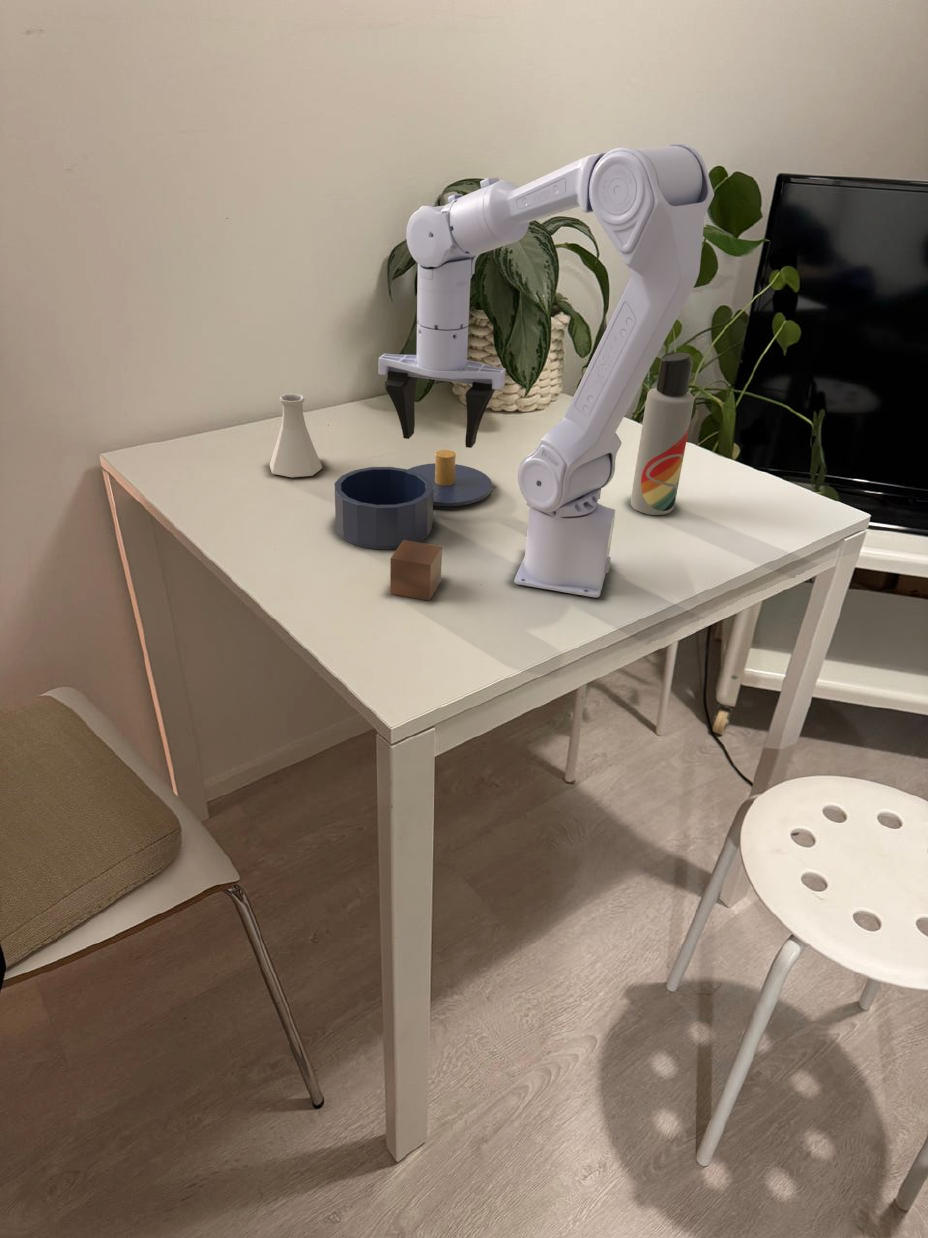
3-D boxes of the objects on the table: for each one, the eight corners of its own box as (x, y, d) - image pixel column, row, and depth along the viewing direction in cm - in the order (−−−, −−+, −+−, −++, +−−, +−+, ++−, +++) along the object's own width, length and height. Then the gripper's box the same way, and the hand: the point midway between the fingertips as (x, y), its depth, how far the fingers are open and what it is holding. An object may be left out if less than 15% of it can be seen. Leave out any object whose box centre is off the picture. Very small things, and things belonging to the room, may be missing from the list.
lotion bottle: (673, 518, 116) (702, 363, 105) (628, 512, 117) (653, 358, 106) (673, 500, 121) (701, 350, 110) (631, 494, 122) (654, 345, 111)
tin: (442, 514, 114) (444, 474, 111) (415, 556, 104) (415, 514, 102) (355, 500, 116) (355, 461, 113) (321, 540, 107) (319, 498, 104)
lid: (501, 478, 124) (503, 443, 121) (478, 516, 114) (481, 479, 111) (413, 465, 127) (413, 430, 124) (383, 501, 116) (383, 464, 114)
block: (440, 581, 100) (442, 546, 98) (429, 601, 96) (430, 564, 94) (402, 574, 101) (403, 539, 98) (390, 594, 97) (390, 558, 95)
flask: (318, 480, 121) (315, 408, 115) (264, 477, 121) (258, 405, 115) (326, 459, 127) (323, 389, 122) (274, 456, 127) (269, 386, 121)
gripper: (514, 322, 102) (506, 436, 109) (392, 308, 105) (392, 420, 112) (500, 337, 96) (492, 458, 103) (371, 322, 99) (372, 440, 106)
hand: (439, 440), depth 107 cm, fingers open, 7 cm apart
